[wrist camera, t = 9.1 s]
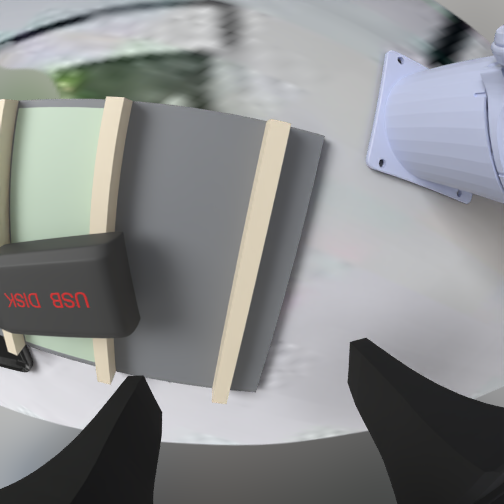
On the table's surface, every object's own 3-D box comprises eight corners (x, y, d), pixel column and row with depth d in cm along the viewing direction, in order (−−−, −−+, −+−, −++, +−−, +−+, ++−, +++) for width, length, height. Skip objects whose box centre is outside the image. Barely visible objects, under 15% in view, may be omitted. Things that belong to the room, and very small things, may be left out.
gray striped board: (320, 136, 16) (334, 135, 14) (254, 385, 22) (257, 406, 20) (-6, 103, 13) (-26, 103, 11) (2, 329, 18) (-11, 343, 16)
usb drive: (141, 318, 16) (130, 346, 14) (-2, 316, 16) (-22, 336, 13) (124, 230, 15) (105, 248, 12) (-24, 247, 14) (-48, 262, 11)
